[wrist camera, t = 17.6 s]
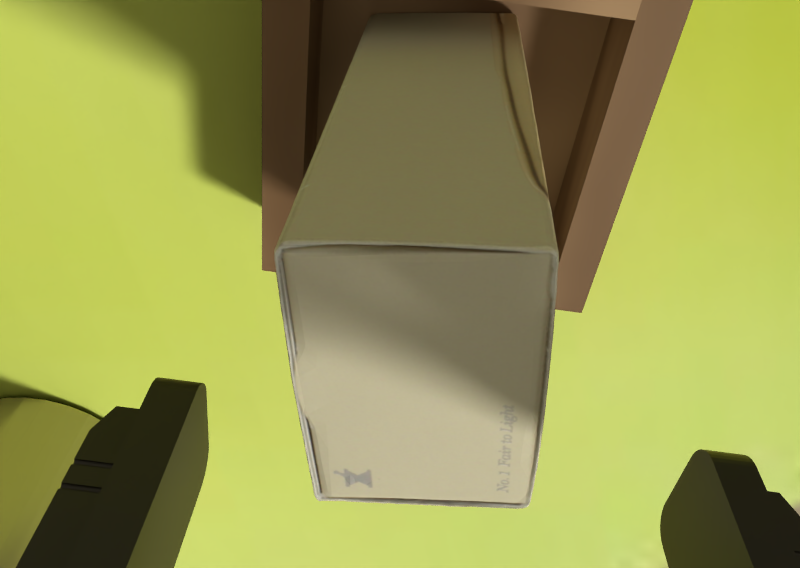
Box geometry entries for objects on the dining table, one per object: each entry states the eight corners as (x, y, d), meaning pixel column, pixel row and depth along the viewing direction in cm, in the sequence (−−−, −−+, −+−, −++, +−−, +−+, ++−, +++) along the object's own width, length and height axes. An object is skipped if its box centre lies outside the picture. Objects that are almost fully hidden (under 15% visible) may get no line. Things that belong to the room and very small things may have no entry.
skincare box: (505, 199, 23) (538, 519, 14) (371, 198, 24) (312, 511, 14) (518, 1, 20) (576, 251, 10) (358, 3, 20) (265, 248, 10)
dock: (281, 217, 25) (247, 309, 21) (290, -249, 17) (238, -246, 13) (569, 256, 26) (590, 354, 21) (712, -187, 17) (790, -164, 13)
